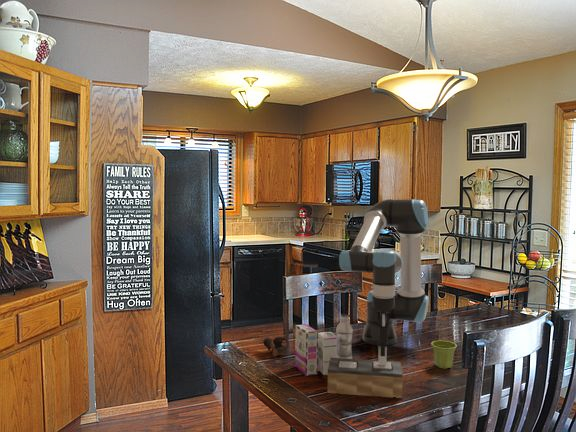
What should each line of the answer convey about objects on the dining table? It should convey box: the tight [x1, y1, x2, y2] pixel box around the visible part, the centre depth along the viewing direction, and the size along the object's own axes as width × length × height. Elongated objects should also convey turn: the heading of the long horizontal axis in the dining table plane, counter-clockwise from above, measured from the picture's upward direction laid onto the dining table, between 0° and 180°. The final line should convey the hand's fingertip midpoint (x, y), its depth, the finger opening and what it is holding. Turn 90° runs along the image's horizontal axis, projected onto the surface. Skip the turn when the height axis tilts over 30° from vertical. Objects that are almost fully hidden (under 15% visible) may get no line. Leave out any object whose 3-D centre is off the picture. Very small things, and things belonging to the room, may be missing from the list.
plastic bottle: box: [335, 314, 354, 359], centre depth 193 cm, size 6×7×20 cm
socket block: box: [327, 358, 404, 399], centre depth 173 cm, size 12×25×8 cm, turn 81°
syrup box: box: [317, 331, 338, 376], centre depth 188 cm, size 6×6×14 cm
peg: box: [373, 361, 392, 371], centre depth 172 cm, size 6×6×8 cm
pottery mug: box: [262, 335, 291, 358], centre depth 209 cm, size 12×10×8 cm
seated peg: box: [338, 361, 357, 369], centre depth 174 cm, size 6×6×8 cm
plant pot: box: [430, 340, 457, 370], centre depth 195 cm, size 9×9×9 cm
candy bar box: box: [294, 323, 319, 377], centre depth 190 cm, size 11×5×16 cm, turn 22°
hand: (382, 364), depth 172 cm, fingers closed
